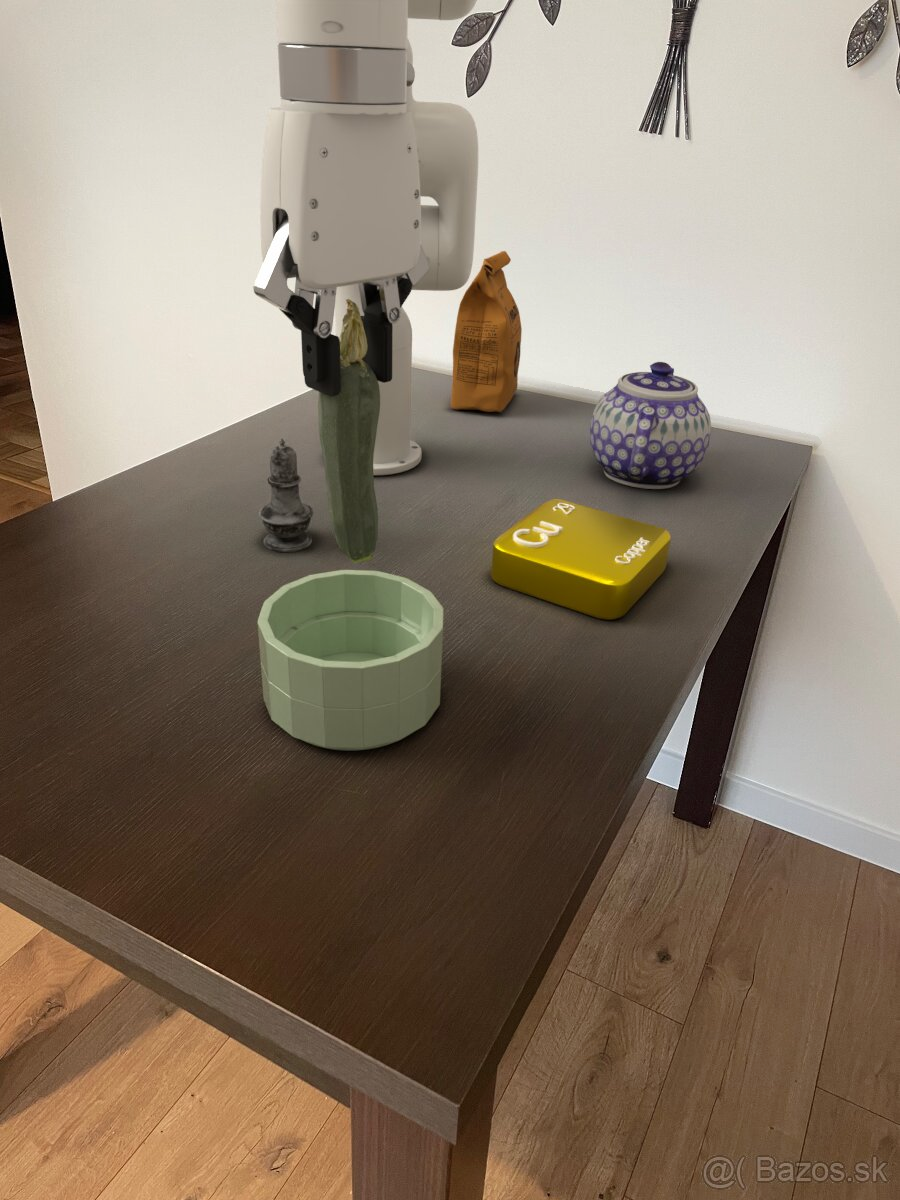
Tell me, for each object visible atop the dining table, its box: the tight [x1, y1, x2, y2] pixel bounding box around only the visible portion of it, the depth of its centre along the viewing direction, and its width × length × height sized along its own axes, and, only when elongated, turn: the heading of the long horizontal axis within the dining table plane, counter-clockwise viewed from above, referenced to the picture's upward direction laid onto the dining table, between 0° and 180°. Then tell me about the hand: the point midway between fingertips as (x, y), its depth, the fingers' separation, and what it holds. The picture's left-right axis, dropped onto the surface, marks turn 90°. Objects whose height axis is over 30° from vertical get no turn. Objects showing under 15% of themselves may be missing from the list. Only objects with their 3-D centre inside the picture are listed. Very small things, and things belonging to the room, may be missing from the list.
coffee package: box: [450, 250, 523, 413], centre depth 139 cm, size 10×12×22 cm
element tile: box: [490, 498, 672, 621], centre depth 97 cm, size 15×15×5 cm
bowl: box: [256, 569, 444, 752], centre depth 76 cm, size 15×15×8 cm
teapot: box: [589, 361, 712, 490], centre depth 118 cm, size 25×15×15 cm, turn 160°
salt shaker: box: [258, 438, 314, 553], centre depth 99 cm, size 6×6×12 cm
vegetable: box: [317, 299, 380, 565], centre depth 66 cm, size 4×4×20 cm
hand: (348, 381), depth 64 cm, fingers closed on vegetable, 3 cm apart
